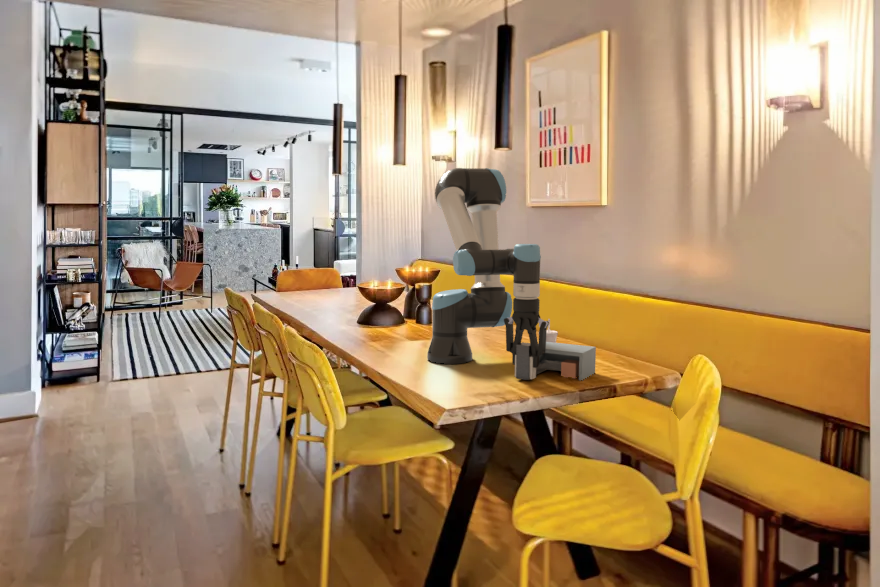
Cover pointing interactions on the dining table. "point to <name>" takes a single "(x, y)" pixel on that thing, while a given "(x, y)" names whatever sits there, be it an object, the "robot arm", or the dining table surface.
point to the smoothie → (551, 334)
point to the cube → (570, 368)
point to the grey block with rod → (524, 362)
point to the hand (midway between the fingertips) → (525, 376)
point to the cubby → (572, 356)
